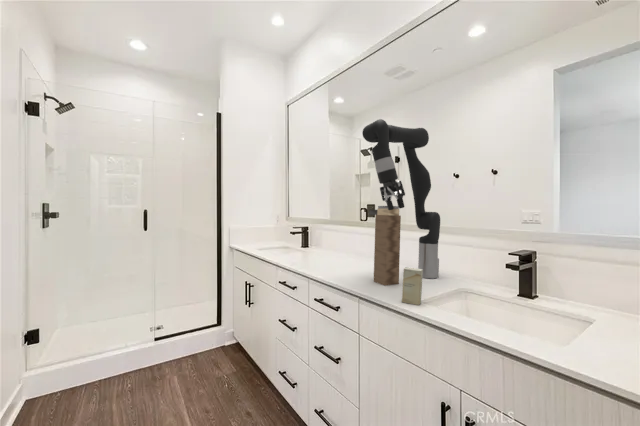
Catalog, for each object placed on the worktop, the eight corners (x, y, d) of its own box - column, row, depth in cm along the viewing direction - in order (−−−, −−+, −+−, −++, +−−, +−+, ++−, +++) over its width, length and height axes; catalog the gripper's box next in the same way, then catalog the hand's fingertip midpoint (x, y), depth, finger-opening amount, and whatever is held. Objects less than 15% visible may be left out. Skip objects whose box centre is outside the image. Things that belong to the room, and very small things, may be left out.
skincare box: (401, 302, 104) (402, 268, 104) (404, 299, 108) (405, 266, 108) (420, 305, 101) (421, 270, 101) (422, 302, 105) (422, 268, 105)
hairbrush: (376, 214, 146) (376, 206, 146) (399, 215, 131) (399, 206, 131) (366, 214, 143) (366, 206, 143) (388, 215, 128) (388, 205, 128)
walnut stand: (387, 280, 139) (389, 215, 138) (398, 284, 131) (400, 215, 131) (373, 281, 135) (375, 214, 135) (384, 285, 128) (386, 215, 128)
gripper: (403, 164, 111) (414, 205, 111) (385, 172, 125) (395, 208, 125) (386, 168, 109) (397, 209, 109) (370, 175, 123) (380, 212, 123)
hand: (396, 208), depth 117 cm, fingers open, 8 cm apart
